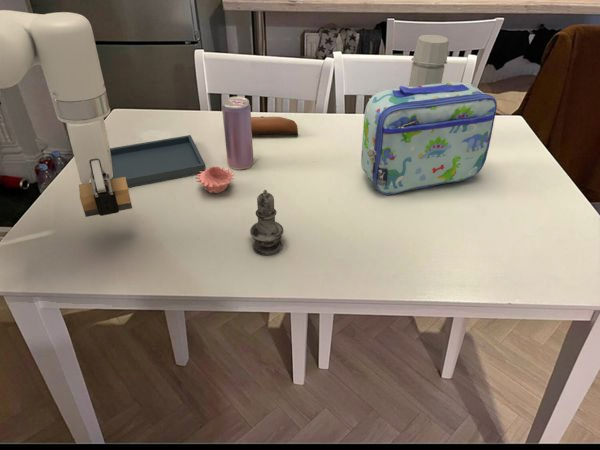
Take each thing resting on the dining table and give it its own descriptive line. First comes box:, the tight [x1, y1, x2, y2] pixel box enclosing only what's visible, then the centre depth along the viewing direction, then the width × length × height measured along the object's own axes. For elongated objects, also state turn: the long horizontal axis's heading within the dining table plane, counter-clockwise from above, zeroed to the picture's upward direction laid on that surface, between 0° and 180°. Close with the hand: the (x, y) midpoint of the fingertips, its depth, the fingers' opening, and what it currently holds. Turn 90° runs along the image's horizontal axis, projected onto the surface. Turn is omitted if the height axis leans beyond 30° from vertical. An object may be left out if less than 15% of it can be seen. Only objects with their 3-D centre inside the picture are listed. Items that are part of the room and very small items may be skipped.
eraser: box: [78, 177, 133, 218], centre depth 79 cm, size 8×4×4 cm, turn 112°
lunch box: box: [360, 82, 498, 196], centre depth 95 cm, size 26×11×21 cm, turn 104°
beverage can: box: [221, 96, 255, 171], centre depth 102 cm, size 6×6×15 cm
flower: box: [195, 166, 235, 194], centre depth 96 cm, size 8×8×6 cm
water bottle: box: [408, 34, 450, 87], centre depth 109 cm, size 9×8×25 cm
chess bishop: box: [249, 189, 284, 257], centre depth 80 cm, size 6×6×12 cm
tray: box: [110, 134, 207, 189], centre depth 105 cm, size 22×16×2 cm
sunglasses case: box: [251, 115, 299, 136], centre depth 119 cm, size 18×7×7 cm
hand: (107, 204), depth 80 cm, fingers closed on eraser, 4 cm apart
